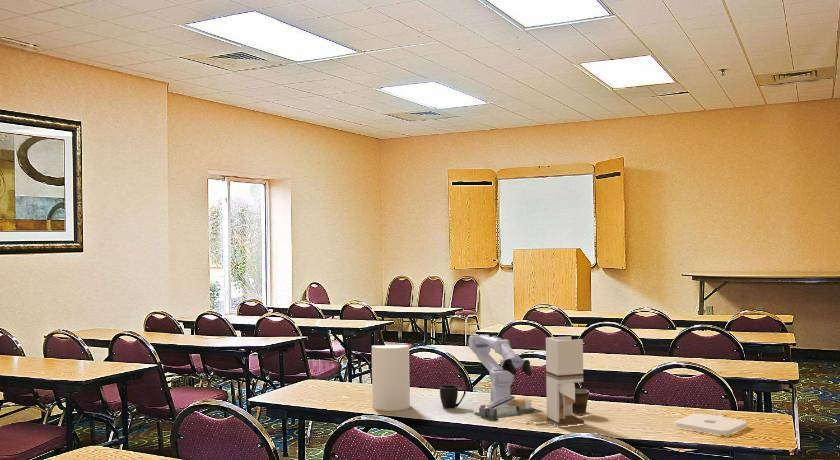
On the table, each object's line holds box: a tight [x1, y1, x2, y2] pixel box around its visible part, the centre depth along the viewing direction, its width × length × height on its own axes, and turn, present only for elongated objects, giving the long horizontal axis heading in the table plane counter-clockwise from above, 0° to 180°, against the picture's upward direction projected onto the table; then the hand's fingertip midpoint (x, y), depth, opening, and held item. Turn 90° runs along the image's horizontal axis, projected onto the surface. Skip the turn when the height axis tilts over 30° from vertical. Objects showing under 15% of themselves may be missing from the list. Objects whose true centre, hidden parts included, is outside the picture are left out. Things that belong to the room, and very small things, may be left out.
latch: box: [514, 397, 532, 410], centre depth 329 cm, size 5×5×5 cm
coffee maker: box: [545, 336, 585, 428], centre depth 307 cm, size 11×11×35 cm
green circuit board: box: [473, 403, 544, 422], centre depth 325 cm, size 14×28×4 cm, turn 118°
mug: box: [439, 384, 467, 410], centre depth 339 cm, size 8×12×10 cm
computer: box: [674, 413, 748, 435], centre depth 298 cm, size 22×22×3 cm
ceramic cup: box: [572, 388, 590, 415], centre depth 323 cm, size 13×10×10 cm
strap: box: [483, 394, 516, 410], centre depth 323 cm, size 4×15×1 cm, turn 118°
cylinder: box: [371, 344, 411, 412], centre depth 343 cm, size 17×17×28 cm
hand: (522, 373), depth 325 cm, fingers open, 7 cm apart
